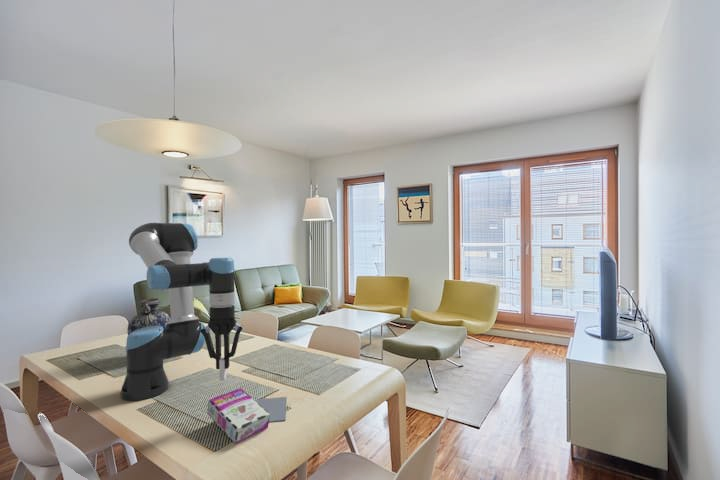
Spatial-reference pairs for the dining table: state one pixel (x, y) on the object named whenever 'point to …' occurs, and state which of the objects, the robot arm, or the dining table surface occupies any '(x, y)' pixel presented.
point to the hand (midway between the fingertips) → (222, 378)
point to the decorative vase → (148, 316)
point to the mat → (274, 408)
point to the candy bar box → (238, 415)
